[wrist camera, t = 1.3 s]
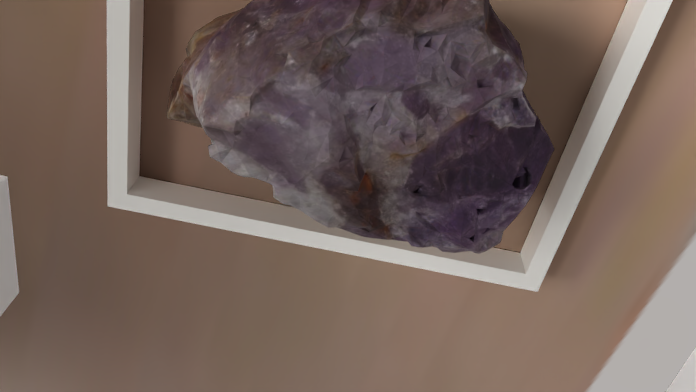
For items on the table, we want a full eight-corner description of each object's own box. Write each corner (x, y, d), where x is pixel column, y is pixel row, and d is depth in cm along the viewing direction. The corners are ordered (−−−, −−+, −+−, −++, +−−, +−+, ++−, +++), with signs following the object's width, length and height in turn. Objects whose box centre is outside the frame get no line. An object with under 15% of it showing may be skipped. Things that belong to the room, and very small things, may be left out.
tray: (120, 188, 28) (107, 206, 27) (124, -272, 19) (105, -277, 18) (531, 270, 29) (537, 291, 28) (712, -135, 20) (733, -131, 19)
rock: (430, 186, 29) (556, -26, 23) (473, 334, 22) (666, 80, 16) (167, 104, 25) (243, -166, 20) (120, 248, 18) (218, -105, 13)
